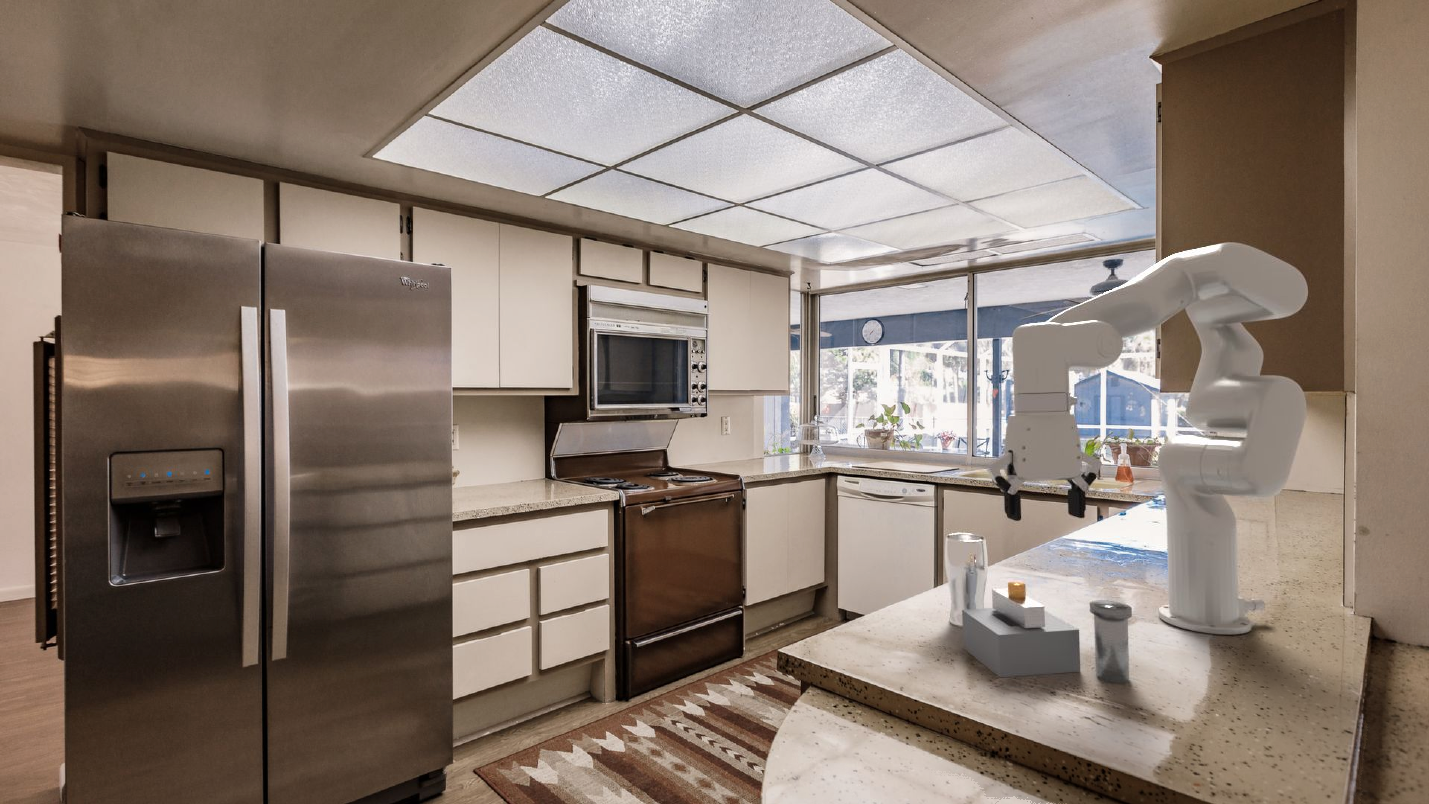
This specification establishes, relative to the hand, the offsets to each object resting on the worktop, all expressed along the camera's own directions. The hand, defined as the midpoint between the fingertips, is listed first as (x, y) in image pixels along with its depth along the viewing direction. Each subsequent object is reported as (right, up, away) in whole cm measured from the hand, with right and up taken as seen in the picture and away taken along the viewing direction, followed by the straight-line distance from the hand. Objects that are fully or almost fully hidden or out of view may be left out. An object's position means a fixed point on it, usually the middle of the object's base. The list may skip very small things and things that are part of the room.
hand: (1045, 517), depth 99 cm
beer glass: (-6, -21, +15) cm, 26 cm away
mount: (-5, -21, -1) cm, 21 cm away
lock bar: (-5, -15, -1) cm, 15 cm away
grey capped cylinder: (+5, -21, -8) cm, 23 cm away
